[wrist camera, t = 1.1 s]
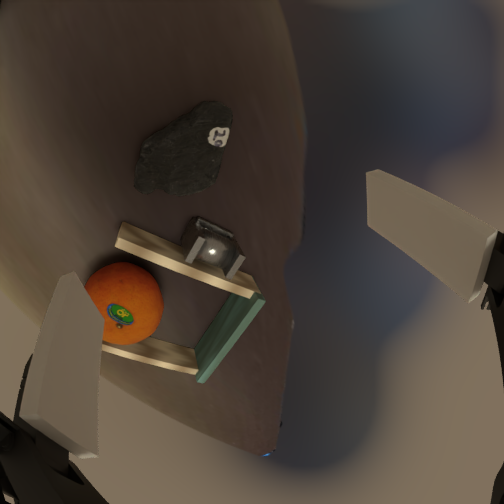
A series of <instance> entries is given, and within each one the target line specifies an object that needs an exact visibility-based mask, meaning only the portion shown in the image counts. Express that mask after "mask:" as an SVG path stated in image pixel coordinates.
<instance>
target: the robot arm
mask: <svg viewBox="0 0 504 504" xmlns="http://www.w3.org/2000/svg"><path fill="white" fill-rule="evenodd" d="M0 2H1V0H0ZM366 183H367V215H368V217H367V218H368V226H369V227H370V228H372V229H373V230H375V231H376V232H377V233H379V234H380V235H382V236H383V237H384V238H386V239H387V240H389V241H390V242H391V243H393V244H394V245H395V246H397V247H398V248H400V249H401V250H402V251H404V252H405V253H406V254H408V255H409V256H410V257H411V258H413V259H414V260H415V261H417V262H418V263H419V264H421V265H422V266H423V267H424V268H426V269H427V270H428V271H430V272H431V273H432V274H433V275H435V276H436V277H437V278H438V279H439V280H441V281H442V282H443V283H445V284H446V285H447V286H448V287H449V288H450V289H452V290H453V291H454V292H455V293H456V294H458V295H459V296H460V297H461V298H462V299H463V300H465V301H466V302H467V303H469V302H471V301H472V300H473V299H474V298H476V297H477V296H478V295H479V294H480V291H481V288H482V285H483V282H485V283H486V284H488V288H487V291H486V293H485V296H484V299H483V302H482V304H481V309H484V307H485V304H486V302H488V301H489V304H488V307H487V310H491V313H492V317H493V322H494V327H495V332H496V337H497V342H498V348H499V353H500V361H501V367H502V376H503V386H504V234H503V233H501V232H499V231H498V230H496V229H494V228H493V227H491V226H490V225H488V224H486V223H484V222H483V221H481V220H480V219H478V218H476V217H474V216H473V215H471V214H469V213H467V212H465V211H464V210H462V209H460V208H458V207H456V206H454V205H453V204H451V203H449V202H447V201H445V200H443V199H441V198H439V197H437V196H435V195H433V194H431V193H429V192H427V191H425V190H423V189H421V188H419V187H417V186H415V185H413V184H410V183H408V182H406V181H404V180H402V179H399V178H397V177H395V176H393V175H390V174H388V173H386V172H383V171H381V170H379V169H378V170H374V171H370V172H367V173H366ZM104 322H105V319H104V318H103V316H102V315H101V313H100V312H99V310H98V309H97V307H96V306H95V304H94V302H93V301H92V299H91V298H90V296H89V294H88V293H87V291H86V290H85V288H84V286H83V285H82V283H81V281H80V280H79V278H78V276H77V274H76V273H75V271H73V272H70V273H68V274H66V275H63V276H61V277H60V279H59V281H58V284H57V286H56V288H55V291H54V293H53V296H52V299H51V301H50V304H49V307H48V309H47V312H46V315H45V318H44V321H43V324H42V327H41V330H40V333H39V336H38V339H37V342H36V346H35V349H34V353H33V354H32V355H31V357H30V358H29V360H28V362H27V364H26V366H25V369H24V373H23V377H22V378H23V380H22V381H21V385H20V388H21V389H20V390H19V394H18V399H17V404H16V408H15V415H14V420H13V421H11V420H10V419H9V418H8V417H6V416H5V415H4V414H3V413H2V412H0V504H11V503H9V502H7V501H5V498H4V494H6V495H8V496H10V497H12V498H14V502H15V504H109V503H108V502H107V501H106V500H105V499H104V498H103V497H102V496H101V495H100V494H99V492H98V491H97V490H96V489H95V488H94V487H93V486H92V484H91V483H90V482H89V481H88V480H87V479H86V477H85V476H84V475H83V474H82V473H81V471H80V470H79V469H78V467H77V466H76V465H75V464H74V463H73V462H71V461H70V460H69V452H70V453H72V454H74V455H75V456H77V457H79V458H92V457H99V453H98V392H99V373H100V360H101V349H102V339H103V330H104ZM3 493H4V494H3ZM491 504H504V463H503V465H502V467H501V469H500V471H499V472H498V474H497V476H496V479H495V481H494V486H493V492H492V498H491Z"/></svg>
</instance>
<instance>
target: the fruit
mask: <svg viewBox="0 0 504 504" xmlns="http://www.w3.org/2000/svg"><path fill="white" fill-rule="evenodd" d="M84 288H85V290H86V291H87V293H88V294H89V296H90V298H91V299H92V301H93V302H94V304H95V306H96V307H97V309H98V310H99V312H100V313H101V315H102V316H103V318H104V319H105V322H104V330H103V339H102V340H104V341H106V342H109V343H112V344H119V345H130V344H134V343H137V342H140V341H142V340H144V339H146V338H147V337H149V336H150V335H151V334H153V332H154V331H155V330H156V328H157V326H158V325H159V322H160V320H161V317H162V313H163V309H164V302H163V298H162V294H161V291H160V289H159V286H158V284H157V282H156V280H155V279H154V277H153V276H152V275H151V274H150V273H149V272H148V271H146V270H144V269H143V268H141V267H139V266H137V265H134V264H132V263H128V262H117V263H113V264H110V265H108V266H105V267H103V268H101V269H100V270H98V271H97V272H95V273H94V274H93V275H92V276H91V277H90V278H89V279H88V281H87V283H86V285H85V287H84Z"/></svg>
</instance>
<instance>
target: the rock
mask: <svg viewBox="0 0 504 504" xmlns="http://www.w3.org/2000/svg"><path fill="white" fill-rule="evenodd" d="M232 117H233V115H232V110H231V109H230V108H228V107H227V106H225V105H224V104H223V103H221V102H217V101H212V102H206V101H203V102H202V103H200V104H199V105H197V106H196V107H194V109H193V110H192V111H191V112H190V113H188V114H186V115H183V116H181V117H179V118H178V119H176V120H175V121H172V122H171V123H170V124H169V125H168V126H167V127H165V128H164V129H163V130H160V131H158V132H156V133H155V134H152V135H151V136H150V137H149V138H147V139H146V140H145V141H144V142H143V144H142V147H141V150H140V158H139V160H138V162H137V164H136V167H135V179H134V187H135V188H136V189H137V190H138V191H139V192H141V193H143V194H149V193H151V192H153V191H154V190H155V189H161V190H164V191H165V192H166V193H168V194H170V195H173V194H175V195H176V196H184V195H191V194H194V193H198V192H201V191H203V190H204V189H206V188H208V187H210V186H211V185H212V184H215V182H216V178H217V176H218V173H219V170H220V165H221V161H222V155H223V152H224V149H225V146H226V143H227V140H228V136H229V132H230V129H231V124H232V120H233V119H232Z"/></svg>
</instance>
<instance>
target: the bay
mask: <svg viewBox="0 0 504 504" xmlns="http://www.w3.org/2000/svg"><path fill="white" fill-rule="evenodd" d="M115 247H117V248H119V249H122V250H124V251H127V252H129V253H131V254H134V255H136V256H139V257H141V258H144V259H146V260H149V261H151V262H154V263H156V264H159V265H161V266H164V267H166V268H169V269H171V270H174V271H176V272H179V273H181V274H184V275H187V276H189V277H192V278H194V279H197V280H200V281H202V282H205V283H208V284H210V285H213V286H216V287H219V288H221V289H224V290H227V291H229V292H232V293H231V295H230V296H229V298H228V299H227V301H226V302H225V304H224V305H223V307H222V308H221V310H220V311H219V313H218V314H217V316H216V317H215V319H214V320H213V322H212V323H211V325H210V326H209V328H208V329H207V331H206V332H205V334H204V335H203V337H202V338H201V340H200V341H199V343H198V344H197V346H196V347H195V349H191V348H187V347H184V346H180V345H176V344H173V343H169V342H165V341H162V340H158V339H155V338H152V337H147V338H146V339H144V340H142V341H140V342H137V343H134V344H130V345H119V344H112V343H109V342H106V341H104V340H102V349H101V350H103V351H107V352H110V353H113V354H116V355H120V356H123V357H126V358H130V359H133V360H137V361H140V362H144V363H148V364H152V365H156V366H160V367H164V368H168V369H172V370H176V371H181V372H185V373H190V374H195V376H196V380H197V382H200V383H205V381H206V380H207V379H208V377H209V376H210V375H211V374H212V372H213V371H214V370H215V368H216V367H217V366H218V365H219V363H220V362H221V361H222V359H223V358H224V357H225V355H226V354H227V353H228V352H229V350H230V349H231V348H232V346H233V345H234V344H235V342H236V341H237V340H238V338H239V337H240V336H241V334H242V333H243V332H244V330H245V329H246V328H247V326H248V325H249V324H250V322H251V321H252V319H253V318H254V317H255V315H256V314H257V313H258V311H259V310H260V309H261V307H262V306H263V304H264V303H265V302H266V301H265V299H264V297H263V295H262V293H261V292H260V290H259V288H258V286H257V284H256V283H255V281H254V279H253V277H252V276H251V275H248V274H246V273H244V272H241V271H239V270H237V272H236V273H235V275H234V276H233V278H232V279H228V278H226V277H225V275H224V273H223V270H222V269H220V268H218V267H215V266H213V265H210V264H208V263H205V262H203V261H200V260H198V259H196V258H194V260H193V262H192V264H191V263H188V262H186V261H185V260H184V254H183V249H182V247H181V246H179V245H177V244H174V243H172V242H169V241H167V240H165V239H162V238H160V237H158V236H156V235H153V234H151V233H149V232H146V231H144V230H142V229H139V228H137V227H135V226H133V225H130V224H128V223H126V222H122V224H121V227H120V229H119V232H118V236H117V239H116V243H115Z"/></svg>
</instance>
